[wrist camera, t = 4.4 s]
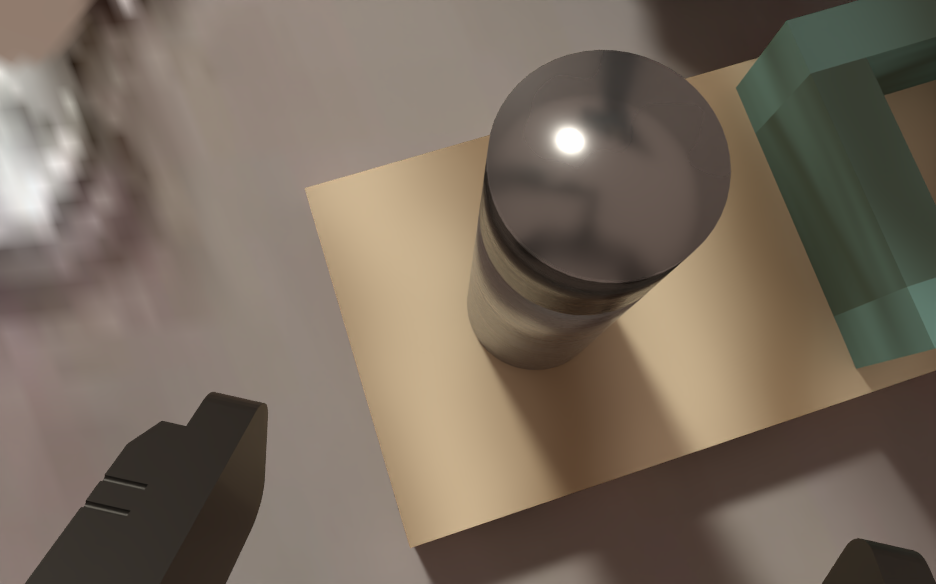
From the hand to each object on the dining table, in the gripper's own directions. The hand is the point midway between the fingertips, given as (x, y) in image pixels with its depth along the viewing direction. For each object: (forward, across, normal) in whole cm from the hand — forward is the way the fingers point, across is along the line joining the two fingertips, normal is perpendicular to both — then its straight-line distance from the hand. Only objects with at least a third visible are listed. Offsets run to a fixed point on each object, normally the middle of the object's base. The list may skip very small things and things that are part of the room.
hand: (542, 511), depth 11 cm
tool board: (+14, -5, +2) cm, 15 cm away
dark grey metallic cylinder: (+10, 0, +3) cm, 11 cm away
